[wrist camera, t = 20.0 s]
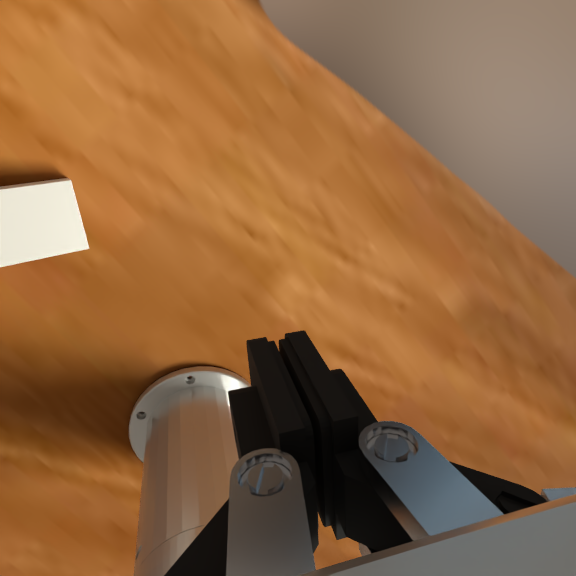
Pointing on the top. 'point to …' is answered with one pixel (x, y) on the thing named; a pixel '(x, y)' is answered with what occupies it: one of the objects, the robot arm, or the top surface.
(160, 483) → the robot arm
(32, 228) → the domino
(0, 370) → the top surface
